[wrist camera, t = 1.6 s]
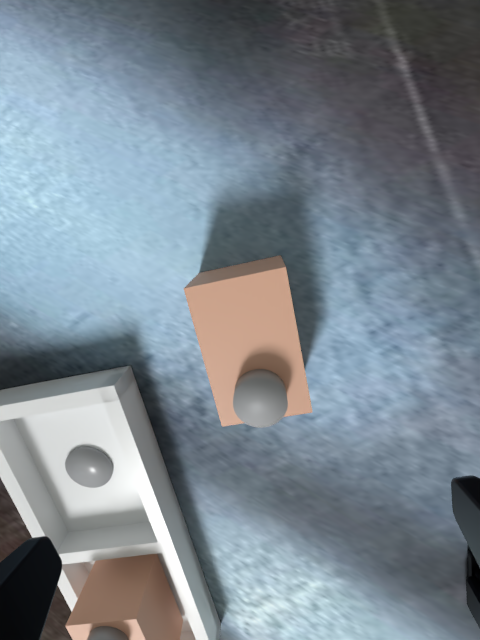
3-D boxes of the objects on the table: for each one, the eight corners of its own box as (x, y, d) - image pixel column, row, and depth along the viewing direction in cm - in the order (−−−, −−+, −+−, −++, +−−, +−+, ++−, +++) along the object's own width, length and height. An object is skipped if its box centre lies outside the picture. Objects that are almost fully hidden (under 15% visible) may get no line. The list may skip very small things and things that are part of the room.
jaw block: (280, 254, 18) (287, 270, 13) (302, 373, 20) (315, 425, 15) (199, 272, 18) (178, 293, 13) (229, 385, 20) (219, 439, 15)
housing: (130, 365, 20) (113, 385, 18) (220, 624, 26) (217, 662, 24) (-3, 390, 21) (-35, 412, 19) (116, 633, 27) (103, 671, 25)
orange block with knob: (155, 551, 23) (129, 640, 18) (183, 620, 25) (166, 716, 20) (96, 558, 24) (55, 647, 19) (127, 625, 26) (98, 720, 21)
